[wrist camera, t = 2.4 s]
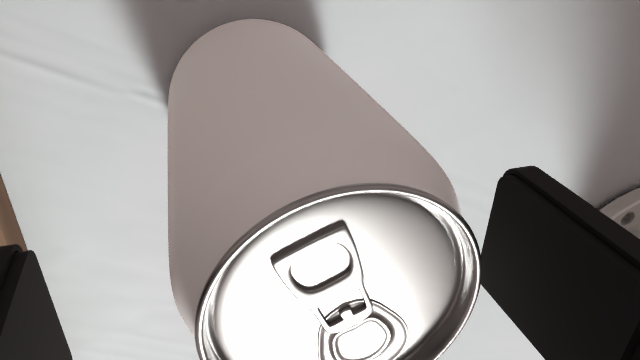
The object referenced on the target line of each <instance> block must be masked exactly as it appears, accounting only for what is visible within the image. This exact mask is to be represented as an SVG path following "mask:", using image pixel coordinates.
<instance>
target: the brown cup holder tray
mask: <svg viewBox="0 0 640 360" xmlns="http://www.w3.org/2000/svg"><path fill="white" fill-rule="evenodd" d="M12 244H18V245H19V246H20V247H21V248H22V250H23V251H28V250H27V247H26V244H25V242H24V239H23V236H22V233H21V230H20V228H19V225H18V222H17V219H16V216H15V214H14V211H13V208H12V205H11V202H10V200H9V197H8V194H7V191H6V188H5V186H4V183H3V180H2V177H1V174H0V246H6V245H12Z"/></svg>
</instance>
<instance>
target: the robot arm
mask: <svg viewBox="0 0 640 360" xmlns="http://www.w3.org/2000/svg"><path fill="white" fill-rule="evenodd" d="M481 263H482V275H481V285H482V286H483V287H484V288H485V290H486V291H487V292H488V293H489V294H490V295H491V297H492V298H493V299H494V300H495V301H496V302H497V304H498V305H499V306H500V307H501V308H502V309H503V311H504V312H505V313H506V314H507V315H508V316H509V318H510V319H511V320H512V321H513V322H514V323H515V325H516V326H517V327H518V328H519V329H520V331H521V332H522V333H523V334H524V335H525V336H526V338H527V339H528V340H529V341H530V342H531V343H532V345H533V346H534V347H535V348H536V349H537V350H538V352H539V353H540V354H541V355H542V356H543V357H544V359H545V360H640V188H637V189H634V190H632V191H630V192H628V193H626V194H624V195H622V196H620V197H618V198H616V199H615V200H613V201H612V202H610V203H609V204H607V205H606V206H604V207H603V208H601V209H600V210H598V209H596V208H595V207H593V206H592V205H591V204H589V203H588V202H586V201H585V200H583V199H582V198H581V197H579V196H578V195H576V194H575V193H573V192H572V191H571V190H569V189H568V188H566V187H565V186H563V185H562V184H561V183H559V182H558V181H556V180H555V179H553V178H552V177H551V176H549V175H548V174H546V173H545V172H543V171H542V170H541V169H539V168H537V167H535V166H526V167H520V168H513V169H509V170H507V171H506V172H505V173H504V175H503V177H501V178H500V179H499V181H498V184H497V188H496V192H495V197H494V201H493V205H492V209H491V214H490V218H489V222H488V227H487V231H486V235H485V240H484V244H483V248H482V252H481ZM0 360H72V355H71V352H70V349H69V347H68V344H67V341H66V338H65V335H64V333H63V330H62V327H61V324H60V322H59V319H58V316H57V313H56V310H55V308H54V305H53V302H52V299H51V296H50V294H49V291H48V288H47V285H46V282H45V280H44V277H43V274H42V271H41V268H40V266H39V263H38V260H37V257H36V255H35V253H34V252H33V251H32V250H29V251H23V250H22V248H21V247H20V246H19V245H18V244H12V245H6V246H0Z"/></svg>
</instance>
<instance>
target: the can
mask: <svg viewBox="0 0 640 360" xmlns="http://www.w3.org/2000/svg"><path fill="white" fill-rule="evenodd" d="M168 242H169V268H170V279H171V285H172V290H173V295H174V299H175V302H176V305H177V308H178V310H179V313H180V315H181V316H182V318H183V320H184V322H185V324H186V325H187V327H188V328H189V330H190V331H191V332H192V334H193V335H194V336H195V343H196V348H197V352H198V355H199V358H200V360H437V359H438V358H439V357H440V356H441V355H442V354H443V353H444V352H445V351H446V349H447V348H448V347H449V346H450V345H451V344H452V342H453V341H454V340H455V339H456V337H457V336H458V335H459V333H460V332H461V330H462V329H463V327H464V326H465V324H466V322H467V320H468V318H469V317H470V315H471V312H472V310H473V308H474V305H475V303H476V300H477V297H478V293H479V289H480V284H481V275H482V263H481V255H480V250H479V246H478V243H477V240H476V238H475V236H474V233H473V232H472V230H471V228H470V226H469V225H468V223H467V222H466V221H465V220H464V218H463V217H462V216H461V212H460V207H459V203H458V200H457V197H456V194H455V191H454V188H453V186H452V184H451V182H450V180H449V178H448V177H447V175H446V174H445V172H444V171H443V170H442V168H441V167H440V165H439V164H438V163H437V162H436V160H435V159H434V158H433V157H432V156H431V155H430V154H429V153H428V152H427V151H426V149H425V148H424V147H423V146H422V145H421V144H420V143H419V142H418V141H417V140H416V139H415V138H414V137H413V136H412V135H411V134H410V133H409V132H408V131H407V130H406V129H404V128H403V127H402V126H401V125H400V124H399V123H398V122H397V121H396V120H395V119H394V118H393V117H392V116H391V115H390V114H389V113H388V112H387V111H386V110H385V109H384V108H383V107H381V106H380V105H379V104H378V103H377V102H376V101H375V100H374V99H373V98H372V97H371V96H370V95H369V94H368V93H367V92H366V91H365V90H363V89H362V88H361V87H360V86H359V85H358V84H357V83H356V82H355V81H354V80H353V79H352V78H351V77H350V76H349V75H348V74H346V73H345V72H344V71H343V70H342V69H341V68H340V67H339V66H338V65H337V64H336V63H335V62H334V61H333V60H331V59H330V58H329V57H328V56H327V55H326V54H325V53H324V52H323V51H322V50H321V49H320V48H318V47H317V46H316V45H315V44H314V43H313V42H312V41H310V40H309V39H308V38H307V37H305V36H304V35H303V34H301V33H300V32H298V31H296V30H295V29H293V28H291V27H289V26H287V25H284V24H281V23H278V22H275V21H270V20H264V19H244V20H237V21H233V22H229V23H226V24H223V25H220V26H218V27H216V28H214V29H212V30H210V31H209V32H207V33H205V34H204V35H203V36H201V37H200V38H199V39H198V40H196V41H195V42H194V43H193V44H192V45H191V46H190V47H189V48H188V50H187V51H186V52H185V53H184V55H183V56H182V58H181V59H180V61H179V63H178V65H177V67H176V69H175V71H174V74H173V77H172V80H171V84H170V89H169V98H168Z"/></svg>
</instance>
